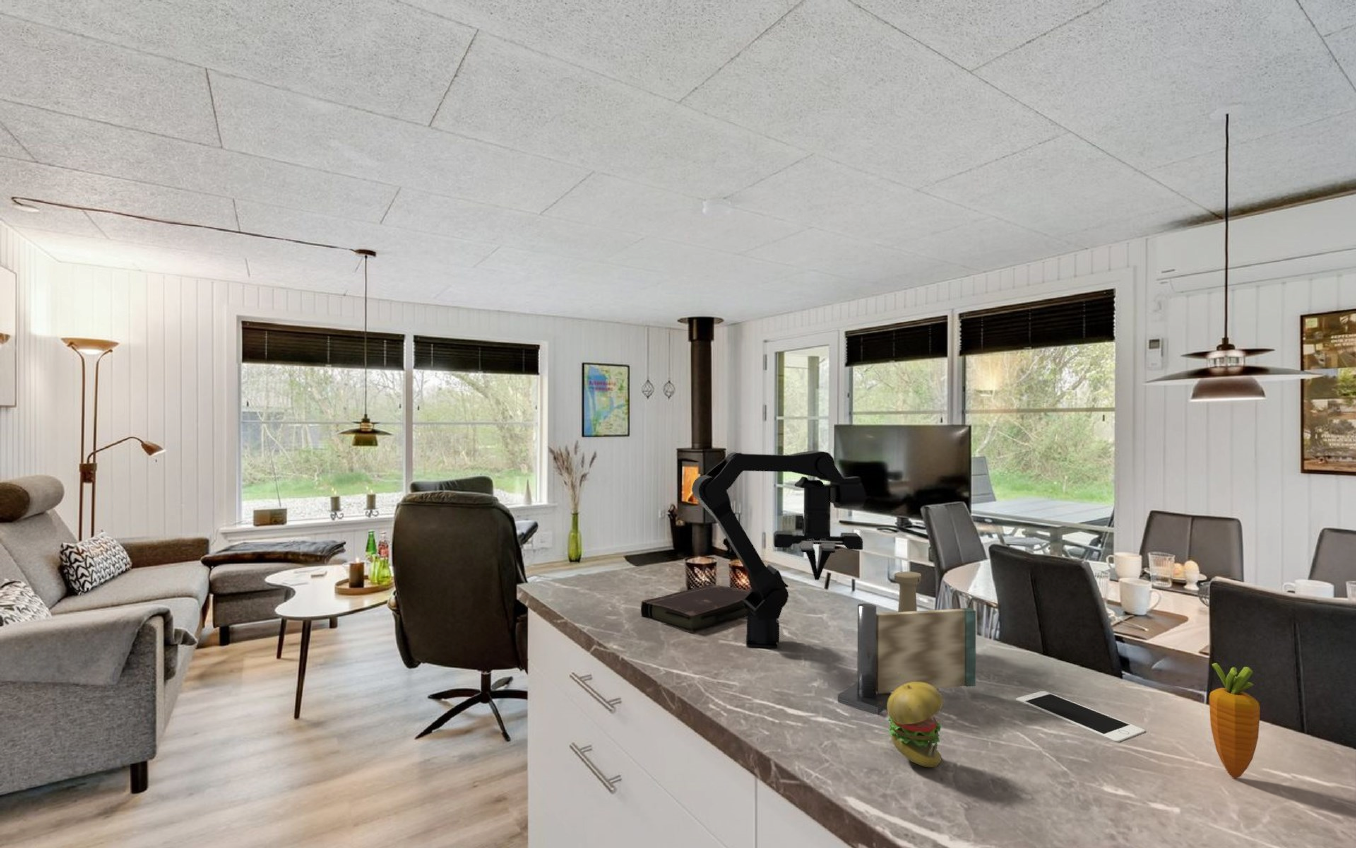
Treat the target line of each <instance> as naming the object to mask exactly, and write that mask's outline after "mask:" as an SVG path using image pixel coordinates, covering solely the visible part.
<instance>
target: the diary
mask: <svg viewBox="0 0 1356 848" xmlns="http://www.w3.org/2000/svg"><path fill="white" fill-rule="evenodd" d="M751 591H752V590H746V589H742V588H739V587H738V588H736V587H731V586H727V585H725V586H724V585H719V584H714V583H710V584H706V585H703V586H700V587H695V588H691V589H687V590H681V591H677V592H673V593H670V594H667V595H666V594H665V595H663V596H660V597H654V598H648V599H643V600H641V602H640V615H641V617H642V618H645V617H648V618H646V619H647V620H649V619H653V620H655V621H658V622H661V623H664V625H665V626H668V627H671V628H673V629H677V630H679V631H682V632H685V633H691V634H694V633H698V632H702V631H705V630H709V629H712V628H714V627H717V626H721V625H724V624H727V623H731V622H734V621H738V620H739V619H741V618H744V617H747V611H748V610H747V609H745V606H744V603H743V599H744V598H745V597H746V596H747V595H748V594H749V593H750V592H751Z"/></svg>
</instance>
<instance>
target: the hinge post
mask: <svg viewBox="0 0 1356 848" xmlns="http://www.w3.org/2000/svg"><path fill="white" fill-rule="evenodd" d="M876 613H877V606H876V605H875V604H871V603H865V602H864V603H859V604H857V651H856V652H857V665H856V666H857V670H856V671H857V673H856V674H857V680H856V682H854V683H853V684H851V685H850V686H848V687H847V688H846V689H843V691H841V692H840V693H838V694H837V702H838V703H840V704H843V705H846V706H850V707H853V708H856V709H859V710H862V711H865V712H868V713H871V712H872V714H875V715H879V714H881V713H882V712H883V711H884V710H885V709H887V702H888V699H889V697H890V695H891V694H892V692H884V693H878V692H876Z"/></svg>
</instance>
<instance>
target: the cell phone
mask: <svg viewBox="0 0 1356 848" xmlns="http://www.w3.org/2000/svg"><path fill="white" fill-rule="evenodd" d="M1015 700H1016V701H1017V702H1019V703H1021V704H1024V705H1026V706H1029V707H1031V708H1034V709H1035V710H1038V711H1040V712H1043V713H1046V714H1047V715H1049V716H1052V717H1055V718H1057V719H1059V720H1062V719H1063V720H1062V721H1064V722H1066V723H1069V722H1070V723H1069V724H1072V725H1074V726H1076V727H1078V728H1081V729H1084V730H1086V731H1088V732H1091V733H1093V734H1095V735H1098V736H1100V737H1102V738H1105V739H1108V741H1109V740H1110V741H1112V742H1115V743H1120V741H1121V742H1122V741H1126V740H1129V739H1131V738H1133V737H1136V736H1139V735H1141V734H1144V733H1145V732H1146V729H1143V728H1142V727H1139V726H1137V725H1134V724H1131V723H1129V722H1126V721H1124V720H1121V719H1118V718H1116V717H1113V716H1111V715H1108V714H1106V713H1103V712H1100V711H1097V710H1095V709H1092V708H1091V707H1090V708H1089V707H1088V706H1084V705H1083V704H1079V703H1078V702H1074V701H1072V700H1069V699H1066V698H1064V697H1061V696H1059V695H1056V694H1054V693H1051V692H1049V691H1045V690H1041V691H1037V692H1034V693H1029V694H1026V695H1022V696H1019V697H1017V698H1015ZM1125 739H1126V740H1125Z"/></svg>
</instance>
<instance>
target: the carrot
mask: <svg viewBox="0 0 1356 848" xmlns="http://www.w3.org/2000/svg"><path fill="white" fill-rule="evenodd" d="M1211 666H1212V668H1213V669H1214V671H1216V674H1217V675H1218V677H1219V678H1220V681H1221V682H1222V684H1223V686H1224V687H1220V688H1219V687H1218V688H1216V689H1214V690H1212V691H1210V693H1209V698H1208V699H1209V701H1208V702H1209V716H1210V720H1209V721H1210V729H1211V732H1212V733H1211V734H1212V738H1213V742H1214V746H1215V750H1216V752H1217V755H1218V757H1219V760H1220V761H1221V763H1222V765H1223V767H1224V769H1225V771H1226V772H1227V773H1228V775H1229V776H1230V777H1231V778H1232V779H1234V780H1236V779H1238V778H1241V776H1242V775H1243V774H1244V773H1245V772H1246V770H1247V769H1249V766H1250V764H1251V763H1252V761H1253V758H1254V755H1255V752H1256V748H1257V744H1258V740H1259V733H1260V732H1259V731H1260V718H1261V717H1260V716H1261V715H1260V714H1261V713H1260V711H1261V707H1260V703H1259V701H1258V700H1256V698H1254V697H1253V696H1251V695H1250V694H1249V693H1247V692H1245V690H1247V689H1249V688H1251V687H1253V686H1254V684H1253V682H1250V681H1248V680H1249V678H1250V677H1251V675H1252V674H1253V673H1254V672H1253V670H1252V669H1251V668H1250V667H1249V666H1244V667H1242V669H1241V671H1240V672H1239V673H1238V671H1237V670H1238V668H1236V667H1235V666H1234V667H1233V666H1232V667H1231V668H1230V671H1229V672H1228V674H1227V675H1226V674H1225V672H1224V671H1223V669H1222V668H1221V666H1220V665H1219V663H1217V662H1215V663H1211ZM1237 674H1238V675H1237Z"/></svg>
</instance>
